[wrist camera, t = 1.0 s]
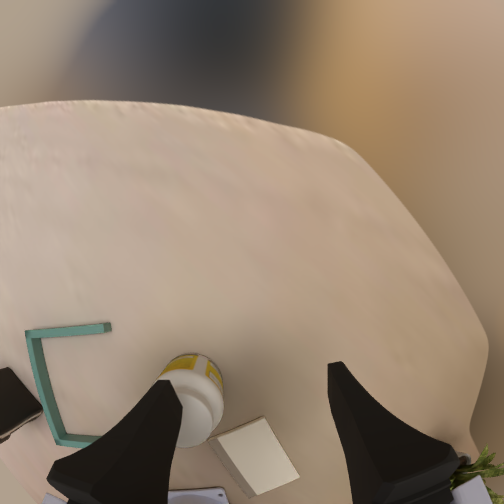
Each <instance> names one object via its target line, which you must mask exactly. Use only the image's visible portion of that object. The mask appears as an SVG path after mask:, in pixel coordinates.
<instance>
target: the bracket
mask: <svg viewBox="0 0 504 504" xmlns="http://www.w3.org/2000/svg"><path fill="white" fill-rule="evenodd" d="M109 331H111V325H110V323H103V324H94V325H84V326H74V327H63V328H51V329H38V330H26V331H25V336H26V342H27V347H28V353H29V357H30V362H31V366H32V371H33V375H34V379H35V383H36V386H37V390H38V394H39V397H40V400H41V404H42V407H43V410H44V413H45V416H46V419H47V422H48V424H49V427H50V430H51V432H52V435H53V438H54V440H55V442H56V445H60V446H67V447H75V448H85V447H87V446H88V445H90V444H91V443H93V442H94V441H96V440H97V439H99V438H100V437H102V436H86V435H74V434H66V431H65V428H64V426H63V423H62V420H61V417H60V414H59V411H58V408H57V405H56V402H55V398H54V395H53V391H52V388H51V384H50V380H49V376H48V372H47V368H46V364H45V359H44V354H43V349H42V344H41V339H40V338H44V337H59V336H73V335H85V334H96V333H105V332H109Z"/></svg>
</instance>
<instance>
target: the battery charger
mask: <svg viewBox="0 0 504 504" xmlns="http://www.w3.org/2000/svg"><path fill="white" fill-rule="evenodd" d="M41 413H42V407H41V405H40V404H39V403H38V402H37V401H36V400H35V398H34V397H33V396H32V395H31V394H30V393H29V391H28V390H27V389H26V388H25V387H24V386H23V384H22V383H21V382H20V381H19V380H18V378H17V377H16V376H15V375H14V374H13V372H12V371H11V370H10V369H9V368H8V367H7V368H3V369H0V444H1V443H3V442H4V441H6V440H8V439H9V437H10V435H11V433H13V432H14V431H16V430H17V429H19V428H20V427H22V426H23V425H24V424H26V423H28V422H30V421H33V420H35V419H36V418H37V417H39V415H40V414H41Z"/></svg>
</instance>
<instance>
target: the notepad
mask: <svg viewBox="0 0 504 504" xmlns="http://www.w3.org/2000/svg"><path fill="white" fill-rule="evenodd" d="M208 443H209V444H210V446H211V447H212V449H213V450H214V452H215V453H216V455H217V456H218V458H219V459H220V461H221V462H222V464H223V465H224V466H225V468H226V469H227V471H228V472H229V473H230V475H231V476H232V477H233V479H234V480H235V481H236V483H237V484H238V485H239V487H240V488H241V489H242V491H243V492H244V493H245V494H246V496H247V497H248V498H251V497H254V496H257V495H259V494H262V493H264V492H267V491H269V490H272V489H274V488H277V487H279V486H282V485H284V484H286V483H288V482H291V481H293V480H295V479H297V478H299V477H300V476H299V474H298V472H297V471H296V469H295V468H294V466H293V464H292V463H291V461H290V459H289V458H288V456H287V455H286V453H285V451H284V450H283V448H282V446H281V445H280V443H279V441H278V439H277V438H276V436H275V434H274V433H273V431H272V429H271V427H270V426H269V424H268V422H267V420H266V419H265V417H264V416H262V417H260V418H258V419H256V420H253V421H251V422H249V423H246V424H244V425H242V426H239V427H237V428H235V429H232V430H230V431H227V432H225V433H222V434H219V435H217V436H214V437H211V438H209V439H208Z"/></svg>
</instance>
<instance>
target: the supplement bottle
mask: <svg viewBox="0 0 504 504" xmlns="http://www.w3.org/2000/svg"><path fill="white" fill-rule="evenodd" d="M157 380H170V382H171V384H172V386H173V388H174V390H175V392H176V394H177V396H178V398H179V400H180V402H181V404H182V406H183V412H182V421H181V427H180V432H179V436H178V440H177V443H176V447H179V448H190V447H195V446H197V445H200V444H201V443H203V442H204V441H205V440H206V439H207V438H208V437H209V436H210V434H211V432H212V431H213V430H214V429H215V428H216V427H217V425H218V424H219V422H220V420H221V418H222V415H223V410H224V400H223V381H222V376H221V373H220V371H219V369H218V367H217V366H216V365H215V363H214V362H212V361H211V360H210V359H208V358H207V357H205V356H203V355H199V354H194V353H189V354H183V355H180V356H178V357H176V358H175V359H173V360H172V361H171V362H170V363H169V364H168V365H167V367H166V368H165V370H164V371H163V372H162V373H161V374H160V376H159V377H158V378H157V379H156V381H157ZM156 381H155V382H154V383H153V385H154V384H155V383H156ZM153 385H152V386H153Z"/></svg>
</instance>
